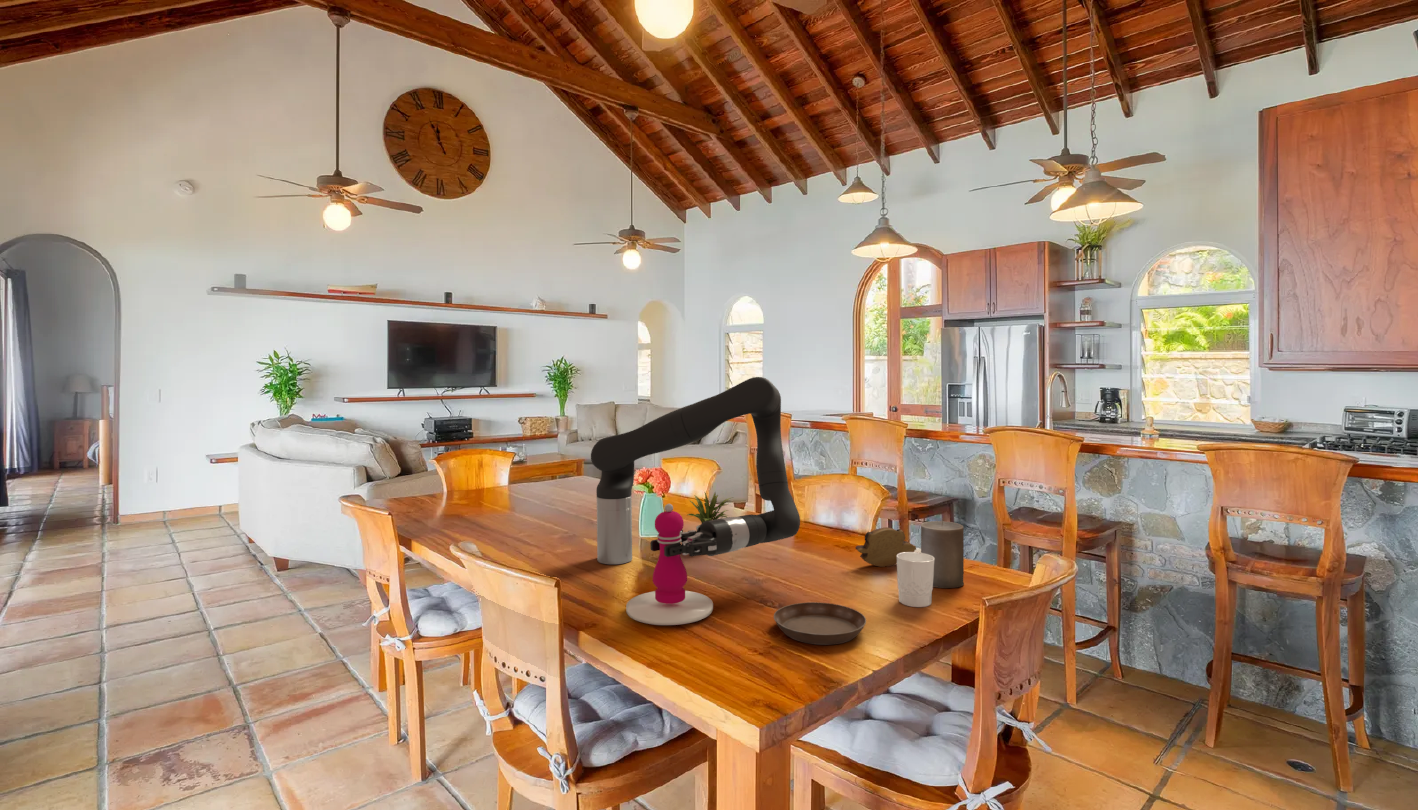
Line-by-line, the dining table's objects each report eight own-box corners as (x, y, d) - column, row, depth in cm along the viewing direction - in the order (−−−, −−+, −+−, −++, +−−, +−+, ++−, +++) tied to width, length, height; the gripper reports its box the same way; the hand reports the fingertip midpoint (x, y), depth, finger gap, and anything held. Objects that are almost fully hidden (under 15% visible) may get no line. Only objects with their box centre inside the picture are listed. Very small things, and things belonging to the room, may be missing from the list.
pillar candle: (970, 581, 159) (970, 519, 158) (953, 591, 152) (953, 526, 151) (931, 574, 166) (931, 513, 165) (913, 583, 159) (913, 520, 158)
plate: (612, 607, 143) (612, 599, 143) (685, 592, 152) (685, 584, 152) (650, 636, 127) (650, 626, 127) (729, 617, 137) (729, 608, 137)
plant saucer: (771, 614, 139) (771, 600, 139) (856, 615, 138) (856, 601, 138) (776, 650, 121) (776, 633, 121) (875, 651, 121) (875, 634, 121)
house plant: (735, 556, 181) (735, 497, 180) (684, 556, 182) (684, 497, 181) (734, 543, 196) (734, 487, 195) (687, 543, 196) (686, 487, 195)
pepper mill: (646, 602, 138) (645, 506, 137) (662, 591, 144) (660, 499, 143) (678, 606, 135) (677, 508, 134) (693, 595, 142) (691, 501, 141)
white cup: (914, 611, 140) (915, 563, 140) (888, 599, 147) (888, 554, 147) (942, 604, 144) (942, 558, 143) (915, 593, 151) (915, 550, 150)
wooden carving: (906, 560, 178) (907, 522, 177) (917, 564, 173) (917, 526, 173) (852, 566, 172) (852, 527, 172) (861, 571, 168) (861, 531, 168)
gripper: (704, 513, 153) (639, 524, 143) (744, 524, 142) (677, 537, 132) (704, 545, 154) (640, 559, 143) (744, 559, 142) (677, 575, 132)
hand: (658, 548), depth 138 cm, fingers closed on pepper mill, 4 cm apart
